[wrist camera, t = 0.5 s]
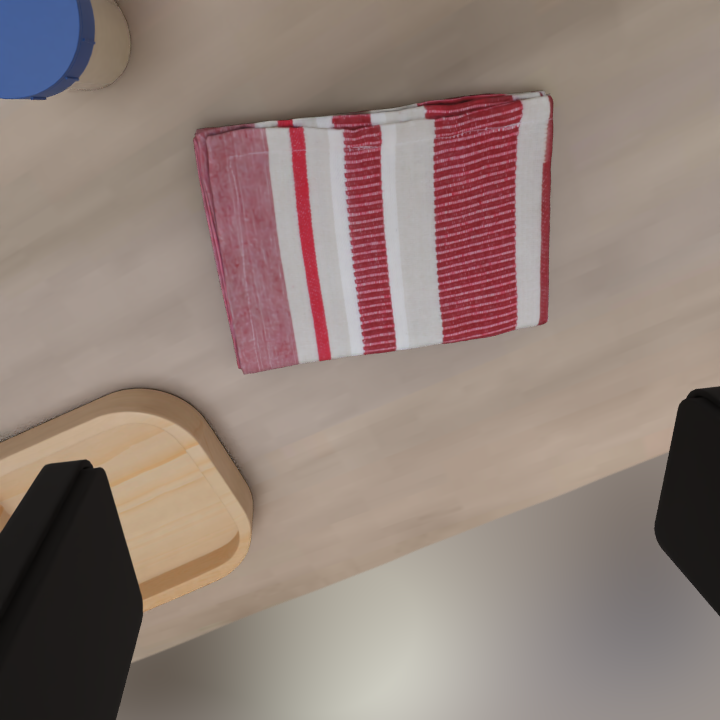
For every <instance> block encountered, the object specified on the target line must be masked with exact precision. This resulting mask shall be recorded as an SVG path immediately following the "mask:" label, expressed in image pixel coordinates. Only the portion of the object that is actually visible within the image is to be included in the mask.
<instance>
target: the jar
mask: <svg viewBox="0 0 720 720" xmlns="http://www.w3.org/2000/svg"><path fill="white" fill-rule="evenodd" d="M90 1H91V5H92V8H93V14H94V20H95V40H94V42H96V43H95V44H94V46H93V51H92V55H91V57H90V60H89V63H88V65H87V67H86V68H85V70H84V72H83V73H82V74H81V76H80V77H79V78H78V79H79V81H75V82H74V83H73V84H72V85H71V86H70V87H68V88H67V89H73V90H96V89H100V88H104V87H106V86H108V85H110V84H111V83H113V82H114V81H115V80H117V79H118V78H119V77H120V75H121V74H122V73H123V71H124V69H125V68H126V66H127V63H128V60H129V56H130V49H131V39H130V32H129V29H128V25H127V22H126V20H125V17H124V15H123V13H122V11H121V10H120V8H119V7H118V5H117V4H116V2H115V1H114V0H90Z"/></svg>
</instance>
